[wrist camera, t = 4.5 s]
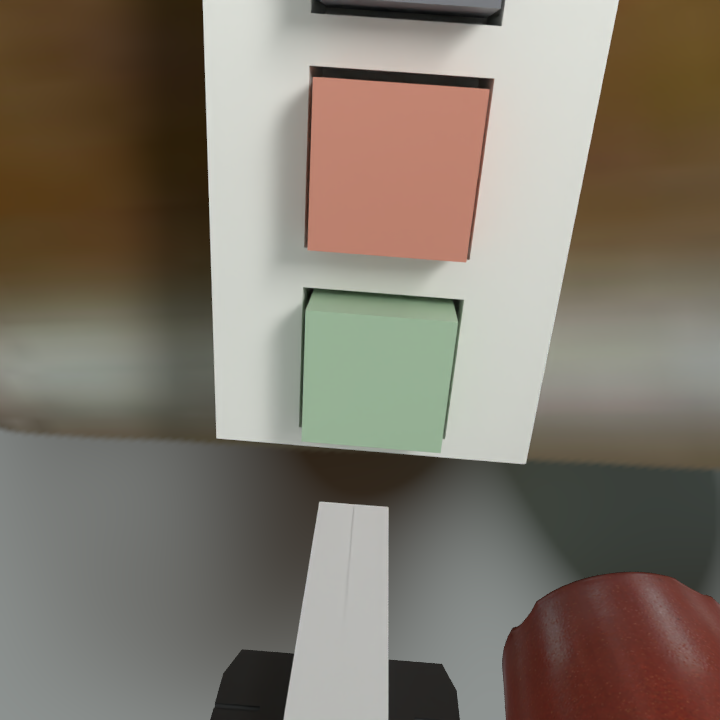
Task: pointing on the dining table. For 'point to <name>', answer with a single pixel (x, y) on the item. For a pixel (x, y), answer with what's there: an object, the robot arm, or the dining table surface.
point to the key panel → (382, 273)
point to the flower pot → (616, 652)
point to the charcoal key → (423, 6)
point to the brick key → (394, 167)
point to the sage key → (377, 369)
